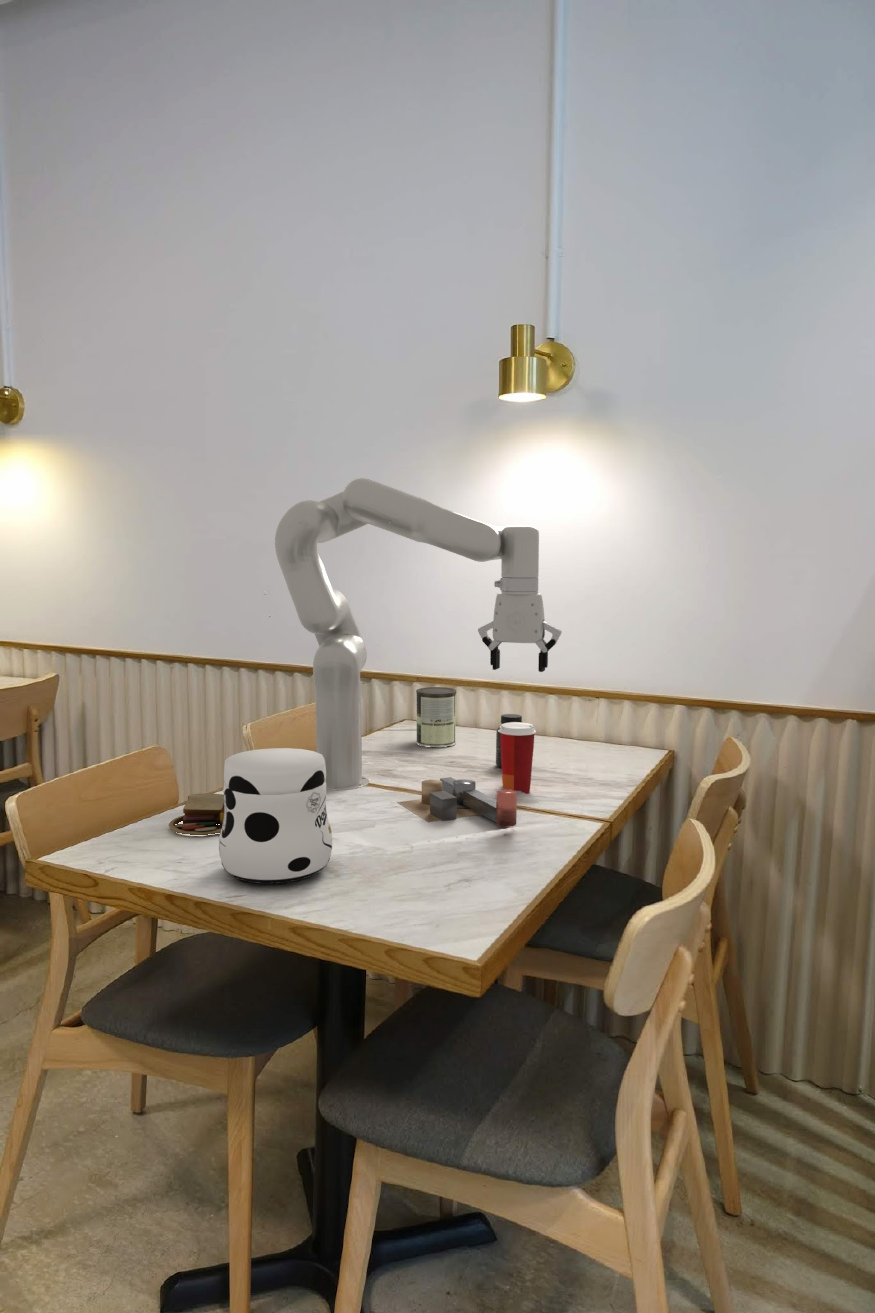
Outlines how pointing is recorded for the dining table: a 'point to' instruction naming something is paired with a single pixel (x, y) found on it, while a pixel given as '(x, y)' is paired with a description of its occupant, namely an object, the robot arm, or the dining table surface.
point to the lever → (484, 800)
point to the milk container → (275, 815)
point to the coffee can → (436, 716)
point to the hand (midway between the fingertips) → (518, 670)
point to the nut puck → (430, 789)
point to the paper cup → (517, 755)
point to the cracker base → (426, 810)
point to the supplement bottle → (504, 719)
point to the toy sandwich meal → (201, 815)
